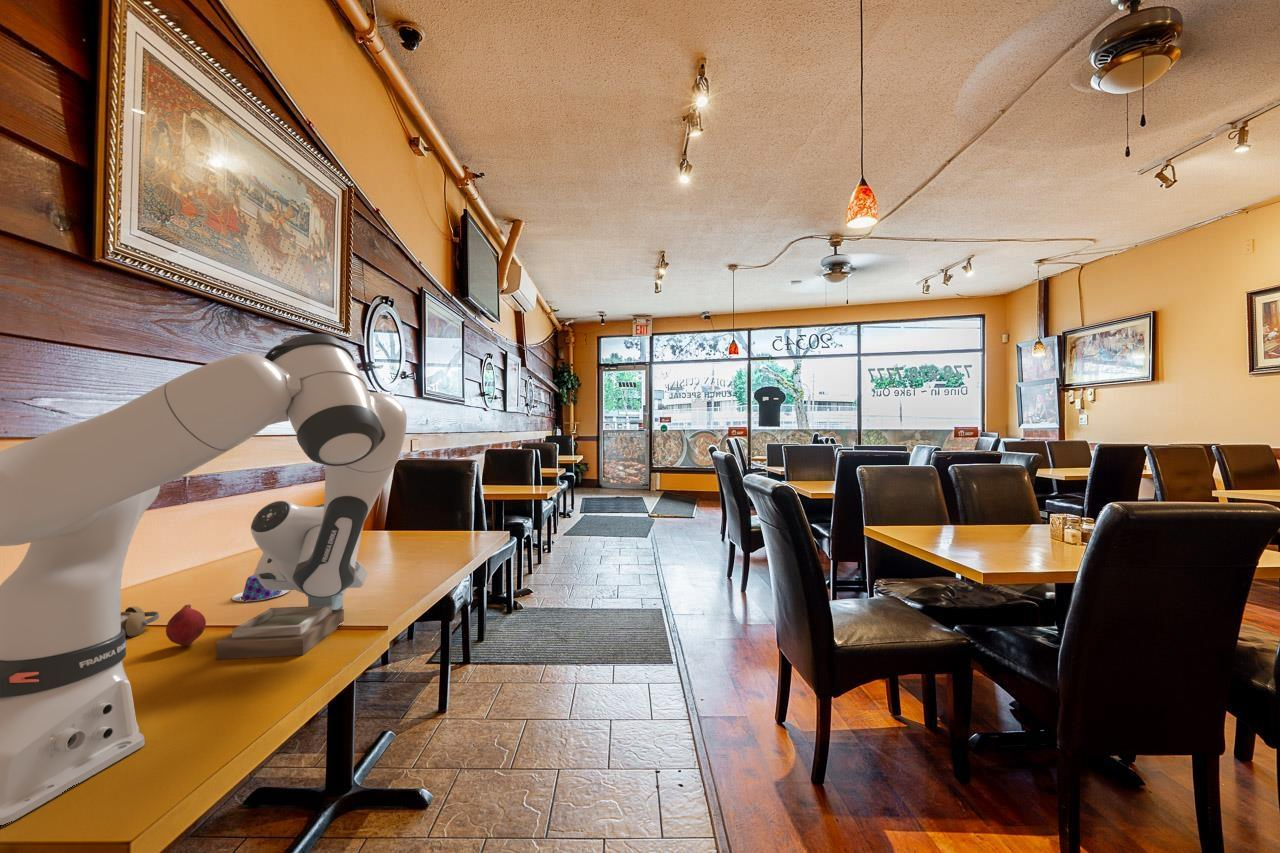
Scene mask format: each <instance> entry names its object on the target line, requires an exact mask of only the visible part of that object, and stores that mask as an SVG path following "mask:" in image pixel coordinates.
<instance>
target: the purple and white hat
mask: <svg viewBox="0 0 1280 853" xmlns="http://www.w3.org/2000/svg"><path fill="white" fill-rule="evenodd" d="M290 591H291V590H278V591H271V590H268V589H266V588H264V587H263V586H262V585H261V583H260V582H259V580H258V579H257V578H256V577H255V576H254V574H253V575H251V576H249V577H247V579H246V581H245V585H244V590H243V591H242V592H239V593H237V594H235V595H233V596H232V597H231V599H232V600H233V601H236V602H245V601H244V600H246V601H251V602H255V601H263V600H269V599H273V598H277V597H280V596H282V595H285V594H287V593H289V592H290ZM280 592H281V593H282V594H281V593H280ZM275 595H277V596H275ZM272 596H273V597H272ZM241 597H242V598H241ZM270 597H271V598H270ZM240 598H241V599H242V600H240ZM265 598H266V599H265ZM259 599H260V600H259Z"/></svg>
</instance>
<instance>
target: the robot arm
mask: <svg viewBox="0 0 1280 853" xmlns="http://www.w3.org/2000/svg"><path fill="white" fill-rule="evenodd" d="M405 410H406V409H405V408H404V406H403V405H402V404H401V402H399V401H398V400H397V399H396V398H394V397H393V396H390V395H389V394H387V393H382V392H374V391H371V392H369V390H368V385H367V383H366V380H365V378H364V377H363V375H362V373H361V372H360V370H359V368H358V366H357V364H356V363H355V359H354V356H353V354H352V353H351V351H350V350H349V349H348V348H347V346H346V345H345V344H344V343H343V342H342V341H341V340H339V339H338V338H337V337H335V336H333V335H329V334H326V333H306V334H302V335H298V336H294V337H292V338H290V339H288V340H286V341H284V342H282V343H281V344H277V345H275V346H273V347H272V348H271V349H269V351H267V353H265V356H262V355H259V354H256V353H251V352H250V353H249V352H245V353H238V354H235V355H231V356H227V357H224V358H221V359H218V360H215V361H212V362H209V363H207V364H204V365H202V366H199V367H197V368H193V370H192V369H191V370H190V371H187V372H185V373H183V374H181V375H179V376H177V377H175V378H172V379H171V380H170V381H167V382H165V383H163V384H161V385H160V386H157V387H156V388H153V389H151V390H150V391H148V392H146V393H144V394H142V395H140V396H139V397H137V398H134V399H132V400H130V401H129V402H126V403H125V404H123V405H120V406H119V407H116V408H114V409H112V410H110V411H107V412H106V413H102V414H101V415H98V416H95V417H92V418H89V419H86V420H84V421H81V422H78V423H75V424H72V425H69V426H65V427H61V428H59V429H57V430H54V431H50V432H48V433H46V434H43V435H41V436H38V437H35V438H32V439H30V440H27V441H24V442H22V443H19V444H16V445H14V446H11V447H7V448H5V449H2V450H0V547H9V546H11V547H12V546H20V545H25V544H29V546H28V549H27V551H26V552H25V555H24V557H23V558H22V560H21V562H20V563H19V565H18V566H17V568H16V569H15V570H14V571H13V572H12V573H11V574H10V575H9V576H8V577H7V578H6V579H4V581H2V583H1V584H0V825H3V824H6V823H8V822H10V823H12V822H14V821H16V820H18V819H19V818H21V817H23V816H25V815H26V814H28V813H30V812H31V811H33V810H35V809H37V808H39V807H40V806H42V805H44V804H45V803H47V802H48V801H51V800H53V799H54V798H56V797H58V796H60V795H61V794H63V793H65V792H66V791H68V790H69V789H68V788H70V787H72V786H73V785H75V786H77V785H78V783H79V784H80V783H82V782H83V781H85V780H87V779H88V778H91V777H92V776H94V775H96V774H98V773H100V772H101V771H103V770H104V769H106V768H108V767H110V766H111V765H113V764H115V763H117V762H118V761H120V760H122V759H124V758H125V757H126V756H129V755H131V754H132V753H134V752H136V751H138V750H139V749H141V748H143V747H144V746H145V745H146V742H145V740H146V739H145V736H144V734H142V733H141V732H140V726H139V724H138V722H137V719H136V712H135V706H134V699H133V692H132V691H133V690H132V686H131V682H130V680H129V679H128V675H127V674H126V672H125V669H124V665H123V663H124V662H123V660H124V659H125V657H126V656H127V646H128V645H127V644H128V643H127V640H126V636H125V630H124V629H122V628H121V612H122V611H121V610H122V606H121V604H122V602H121V601H122V598H121V597H122V577H123V576H122V575H123V570H124V564H125V561H126V556H127V554H128V550H129V547H130V544H131V541H132V539H133V536H134V533H135V530H136V528H137V525H138V524H139V522H140V519H141V518H142V516H144V513H145V512H146V510H148V508H150V507H151V505H152V504H153V503H154V502H155V501H156V499H157V497H158V495H159V493H160V490H161V489H160V488H161V486H162V485H166V484H167V483H171V482H174V481H177V480H178V479H180V478H182V477H183V476H185V475H187V474H189V473H191V472H192V471H194V470H196V469H198V468H199V467H202V466H203V465H205V464H207V463H208V462H211V461H213V460H215V459H216V458H218V457H220V456H221V455H224V454H226V453H227V452H229V451H231V450H232V449H234V448H236V447H238V446H240V445H241V444H243V443H244V442H246V441H247V440H249V439H251V438H252V437H254V436H255V435H257V434H259V433H260V432H261V431H263V430H264V429H265V428H267V427H268V426H271V425H274V424H275V425H276V424H279V423H283V422H290V423H291V426H292V428H293V430H294V432H295V434H296V440H297V444H298V445H299V446H300V448H301V449H302V451H303V452H304V454H305V455H306V456H307V457H308V458H309V459H310V460H311V461H312V462H314V463H316V464H320V465H325V476H324V477H325V478H324V498H323V501H324V502H323V503H322V504H318V505H314V506H303V505H298V504H295V503H293V502H290V501H287V500H278V501H277V500H275V501H273V502H270V503H268V504H266V505H264V506H263V507H262V508H261V509H260V510H259V511H258V512H257V513H256V515H255V516H254V517H253V520H252V522H251V524H250V532H251V535H252V537H253V539H254V542H255V543H256V545H257V546H258V548H259V550H260V551H261V552H262V553H263V554H262V555H261V557H260V559H259V561H258V563H257V564H256V567H255V570H254V572H253V575H254V576H255V577H256V578H257V579H258V580H259V582H260V583H261V585H262V586H263V587H264V588H266V589H268V590H271V591H278V590H290V591H297V592H299V593H302V594H304V595H305V596H306V597H308V595H309V596H312V597H317V598H326V597H331V596H334V595H343V596H345V593H346V592H347V591H346V590H347V589H355V588H358V589H359V588H362V587H363V585H365V582H366V579H367V575H368V571H367V570H366V569H367V568H365V567H364V566H363V565H362V563H360V561H359V560H357V558H358V554H359V548H360V544H361V539H362V534H363V528H364V524H365V522H366V520H367V518H368V516H369V514H370V512H371V510H372V508H373V507H374V505H375V503H376V501H377V499H378V498H379V495H380V493H381V492H382V490H383V488H384V486H385V484H386V483H387V481H388V479H389V478H390V476H391V474H392V472H393V470H394V468H395V466H396V464H397V462H398V459H399V456H400V454H401V452H402V449H403V446H404V441H405V436H406V430H407V421H408V420H407V418H408V417H407V413H406V411H405ZM76 784H77V785H76ZM73 787H74V786H73ZM73 787H72V788H73ZM67 789H68V790H67ZM70 789H71V788H70ZM65 790H66V791H65ZM64 791H65V792H64ZM62 792H63V793H62ZM11 821H12V822H11ZM8 824H9V823H8ZM6 825H7V824H6Z"/></svg>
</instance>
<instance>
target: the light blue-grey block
mask: <svg viewBox="0 0 1280 853" xmlns="http://www.w3.org/2000/svg"><path fill="white" fill-rule="evenodd" d="M343 597H344V595H334V596H331V597H326V598H317V597H312V596H309V595H308V596H307V603H308V604H307V606H331V605H332V610H335V609H342V608H343V609H344V605H343V602H344V598H343Z"/></svg>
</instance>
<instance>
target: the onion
mask: <svg viewBox="0 0 1280 853" xmlns="http://www.w3.org/2000/svg"><path fill="white" fill-rule="evenodd" d="M206 627H207V620H206V618H205V616H204V615H203V614H202V613H201V612H200V611H198V610H196V609H193V608H192V604H190V603H186V604H185V605H183V607H181V609H180V610H179V611H177V612H176V613H174V615H173V616H171V618H170V619H169V620H168V622H167V624H166V627H165V634H166V637H167V638H168V640H170V642H171V643H174V644H176V645H179V646H182V647H188V646H191V645H192V644H193V643H194V641H196V640H198V638H199V637H200V636H201V635H203V633H204V631H205V629H206Z"/></svg>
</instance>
